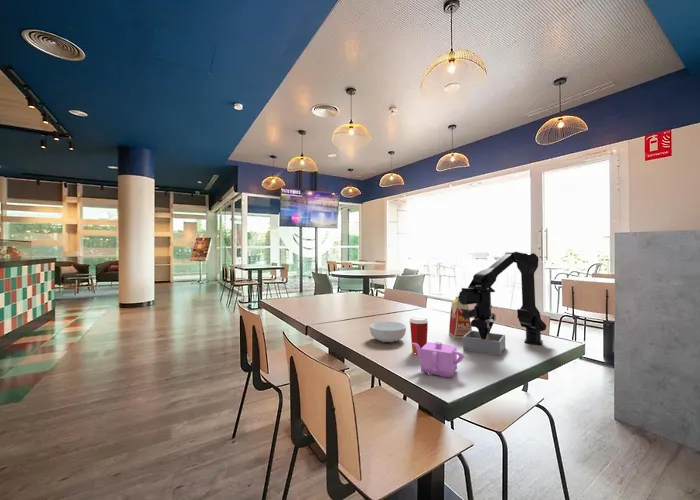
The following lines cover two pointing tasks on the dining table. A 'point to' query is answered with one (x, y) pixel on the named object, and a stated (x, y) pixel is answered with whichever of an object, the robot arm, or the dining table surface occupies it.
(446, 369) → the teapot
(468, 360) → the dining table surface
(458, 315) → the milk carton
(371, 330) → the cereal bowl
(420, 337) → the paper cup
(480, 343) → the box
